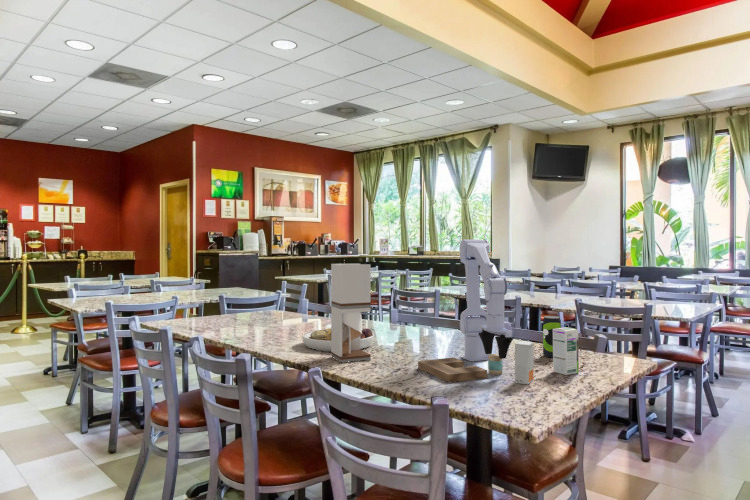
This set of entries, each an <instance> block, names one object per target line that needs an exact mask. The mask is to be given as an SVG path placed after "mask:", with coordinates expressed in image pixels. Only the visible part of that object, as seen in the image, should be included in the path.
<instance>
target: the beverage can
mask: <svg viewBox="0 0 750 500" xmlns="http://www.w3.org/2000/svg"><path fill="white" fill-rule="evenodd" d="M560 318H561V316H558V315H544V316H543V320H542V355H543V356H544V357H545V358H549V359H550V358H551V359H553V329H557V328H562V326H561V319H560Z"/></svg>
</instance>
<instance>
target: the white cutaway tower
mask: <svg viewBox="0 0 750 500" xmlns="http://www.w3.org/2000/svg"><path fill="white" fill-rule="evenodd" d="M330 265H331V266H330V267H331V268H330V270H331V272H330V275H331V277H330V279H331V281H330V282H331V284H330V285H331V286H330V288H331V289H330V290H331V292H330V293H331V301H330V302H331V303H330V304H331V305H330V307H331V316H330V317H331V320H330V321H331V322H330V323H331V328H330V329H331V352H330V353H331V356H332V357H334V358H335V359H337V360H338V361H340V362H348V361H359V362H361V361H360V360H369V361H371V360H372V359H371V354H370V353H368V352H366V351H364V350H363V349H361V335H362V330H363V328H362V327H363V325H362V324H363V319H362V317H363V316H362V315H363V314H362V313H371V312H372V311H371V310H372V309H371V306H372V305H371V303H372V302H371V293H372V292H371V291H372V290H371V287H372V285H371V280H372V279H371V277H372V275H371V274H372V273H371V263H369V264H367V263H364V264H361V263H330ZM332 357H331V358H332ZM335 359H334V360H335ZM337 360H336V361H337ZM338 361H337V362H338ZM340 362H339V363H340ZM348 363H349V362H348Z"/></svg>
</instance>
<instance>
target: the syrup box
mask: <svg viewBox="0 0 750 500" xmlns="http://www.w3.org/2000/svg"><path fill="white" fill-rule="evenodd" d="M579 361H580V359H579V329H578V328H574V327H561V328H557V329H553V358H552V368H553V369H552V370H553V372H554V373H556V374H560V375H564V376H568V375H574V374H575V375H576V374H579V373H580V370H579V364H580V363H579Z"/></svg>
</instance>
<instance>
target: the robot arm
mask: <svg viewBox="0 0 750 500" xmlns="http://www.w3.org/2000/svg"><path fill="white" fill-rule="evenodd" d="M490 248H491V247H490V242H489V241H488V239H486V238H484V239H464V238H463V239H461V241H460V244H459V258H460V263H462V264H464V269H465V270H464V271H465V282H466V283H465V284H466V285H465V287H466V301H467V303H466V304H467V305H466V306H467V308H466V309H465V310H463V311H462V312H461V313H460V315H459V317H460V319H459V330H460V332H461V333H462V334H463V335H464V355H460V356H459V358H461V359H463V360H467V361H469V362H479V361H480V362H481V361H488V355H489V354H493V349H494V347H493V344H494V340H495V341H496V344H497V351H498V353H497V354H499V358H500V359H502V360H504V359H507V355H508V350H509V348H510V345H511V343H512V342H513V340H514V337H513V331H512V330H510V329H507V328H506V327H505V295H506V294H507V293H508V280H507V279H506V277H504V276H503V275H500V273H499V271H498V269H497V266H496V265H495V263H493V262H491V260H490V256H489V253H490ZM479 275H480V276H481V279H482V281H483V292H484V299H485V301H486V306H485V307H486V311H485V310H484V309H483V308H482V307H481V306H482V305H481V293H480V277H479ZM495 335H499V336H495Z"/></svg>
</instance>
